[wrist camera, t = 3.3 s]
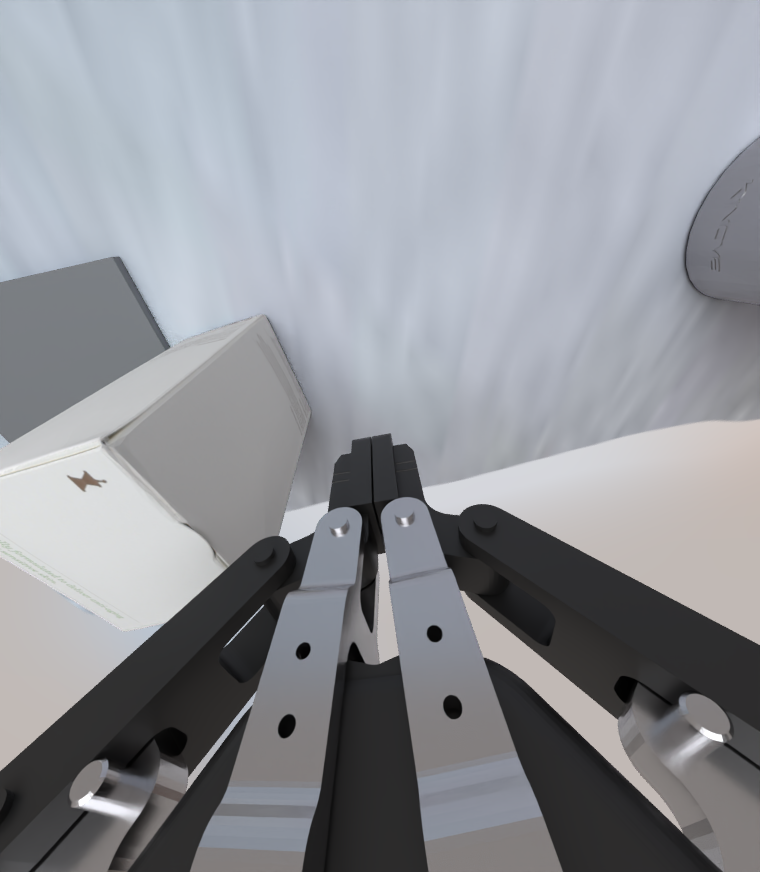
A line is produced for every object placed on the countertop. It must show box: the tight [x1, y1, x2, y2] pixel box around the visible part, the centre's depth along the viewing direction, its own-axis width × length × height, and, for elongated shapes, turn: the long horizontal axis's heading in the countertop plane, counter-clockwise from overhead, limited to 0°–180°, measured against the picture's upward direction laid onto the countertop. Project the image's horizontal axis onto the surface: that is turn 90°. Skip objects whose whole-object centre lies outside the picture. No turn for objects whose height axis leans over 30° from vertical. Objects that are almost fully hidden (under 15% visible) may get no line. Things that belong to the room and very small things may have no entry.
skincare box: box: [0, 315, 311, 632], centre depth 16 cm, size 8×7×16 cm
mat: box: [0, 257, 170, 443], centre depth 23 cm, size 16×18×1 cm
